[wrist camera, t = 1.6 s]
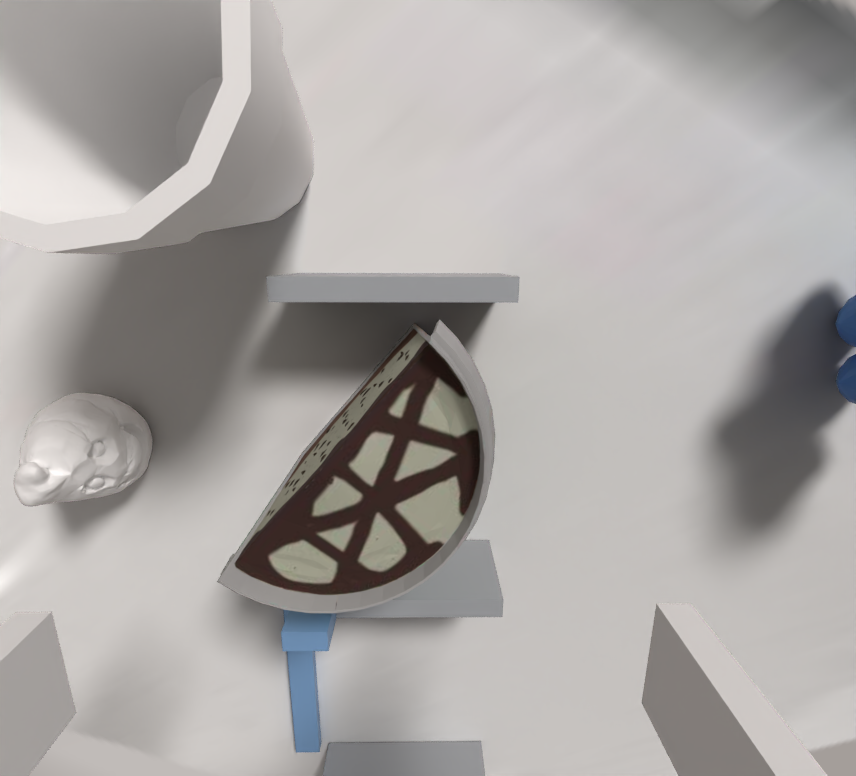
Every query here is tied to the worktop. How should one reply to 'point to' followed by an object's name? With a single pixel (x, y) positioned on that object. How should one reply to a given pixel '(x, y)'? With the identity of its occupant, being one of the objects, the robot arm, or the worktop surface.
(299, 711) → the blue-edged channel bracket
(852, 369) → the grapes
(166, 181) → the foam cup
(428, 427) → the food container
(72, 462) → the garlic bulb
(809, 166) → the worktop surface
